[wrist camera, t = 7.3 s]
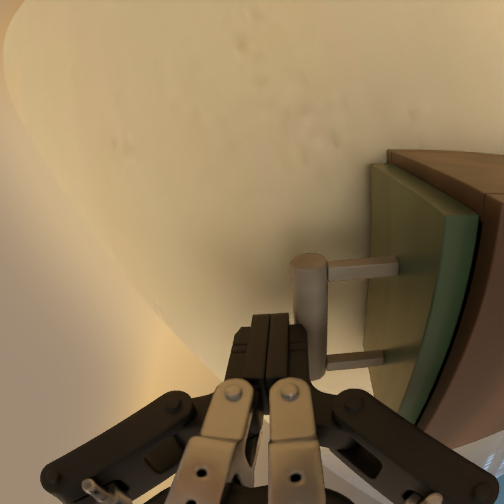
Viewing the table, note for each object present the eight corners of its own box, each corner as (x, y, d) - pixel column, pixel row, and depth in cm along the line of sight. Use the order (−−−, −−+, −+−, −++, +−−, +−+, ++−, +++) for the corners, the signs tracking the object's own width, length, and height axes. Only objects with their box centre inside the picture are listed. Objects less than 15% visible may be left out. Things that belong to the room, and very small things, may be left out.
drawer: (299, 349, 18) (296, 455, 11) (284, 169, 14) (278, 226, 7) (513, 316, 16) (559, 384, 9) (545, 171, 11) (626, 213, 4)
